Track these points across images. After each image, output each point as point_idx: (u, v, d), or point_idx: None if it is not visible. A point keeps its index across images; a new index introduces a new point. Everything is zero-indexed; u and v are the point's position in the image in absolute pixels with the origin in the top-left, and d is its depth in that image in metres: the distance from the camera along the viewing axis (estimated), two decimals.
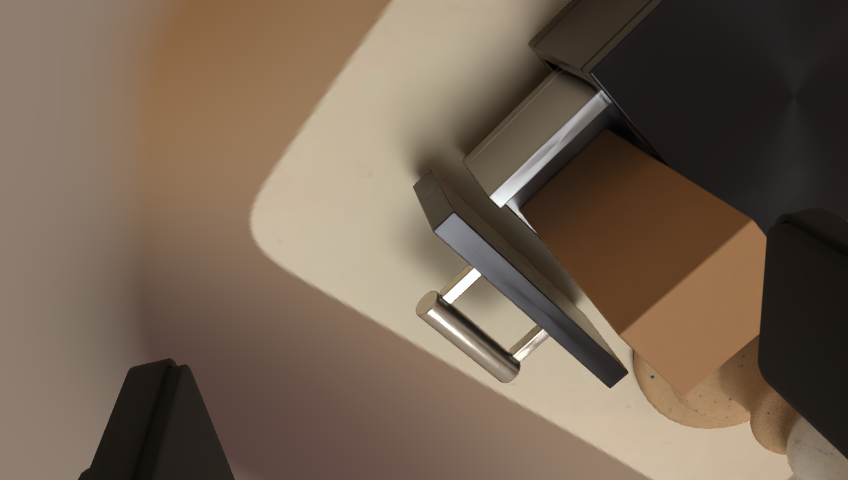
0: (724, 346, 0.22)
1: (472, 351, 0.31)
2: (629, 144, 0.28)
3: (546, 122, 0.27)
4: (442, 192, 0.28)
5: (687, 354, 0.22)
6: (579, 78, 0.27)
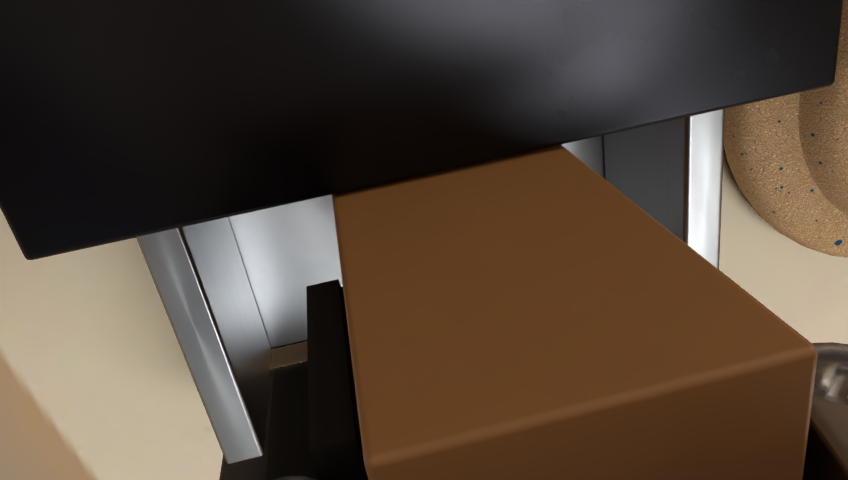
0: None
1: None
2: None
3: None
4: (223, 454, 0.16)
5: None
6: None
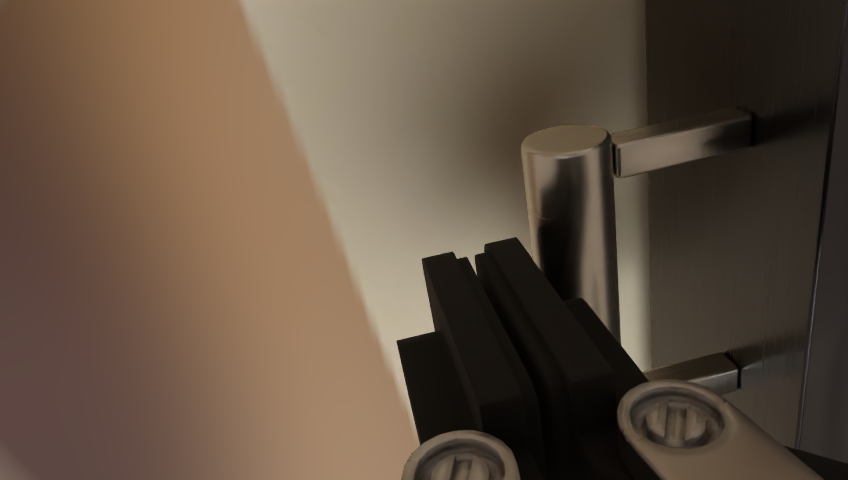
0: None
1: None
2: None
3: None
4: None
5: None
6: None
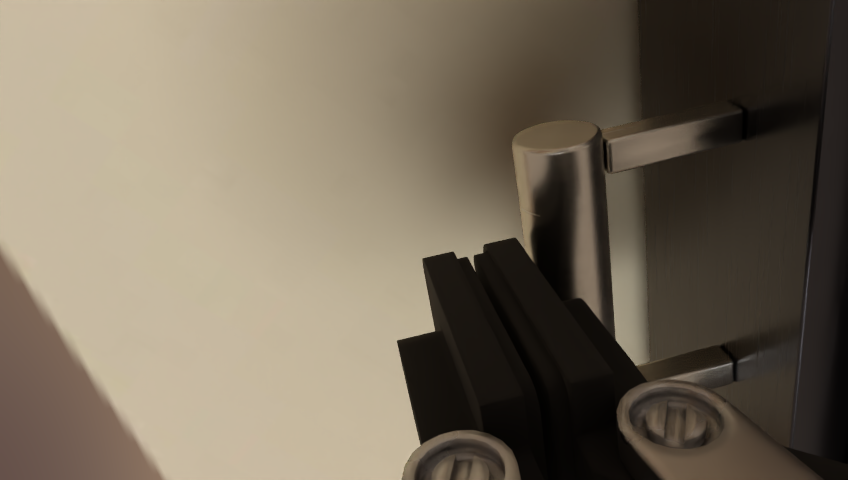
0: None
1: None
2: None
3: None
4: None
5: None
6: None
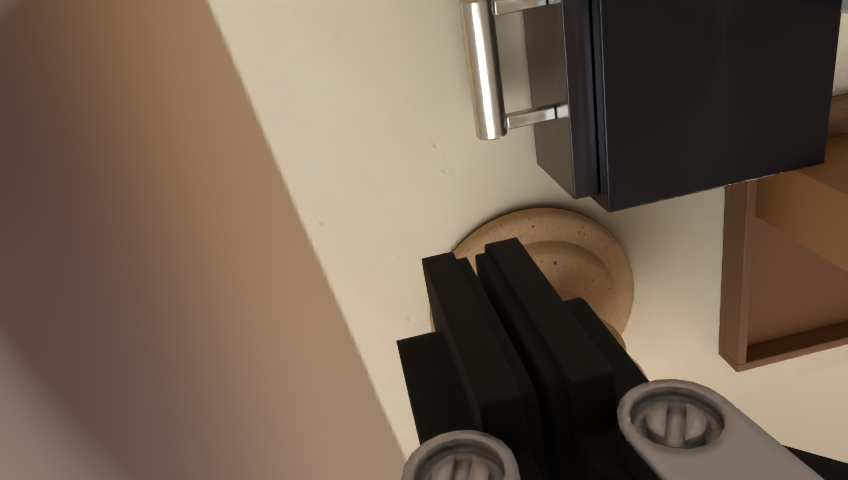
0: None
1: (483, 79, 0.28)
2: None
3: None
4: None
5: None
6: None
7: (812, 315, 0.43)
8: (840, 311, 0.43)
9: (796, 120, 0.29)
